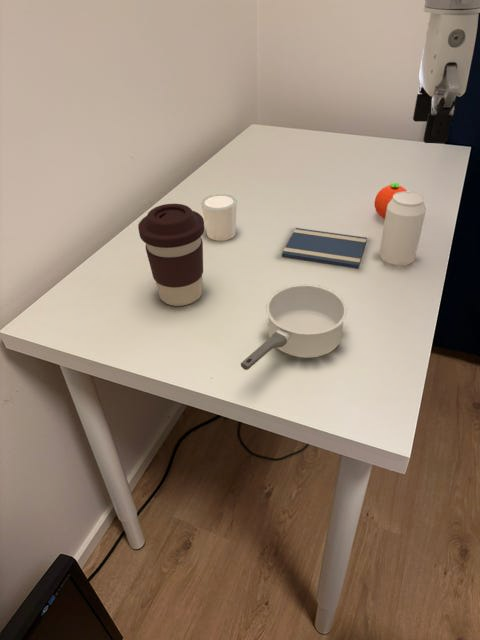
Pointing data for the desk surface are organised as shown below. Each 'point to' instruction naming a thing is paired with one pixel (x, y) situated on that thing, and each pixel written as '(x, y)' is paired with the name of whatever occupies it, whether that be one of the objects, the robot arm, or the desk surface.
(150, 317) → the desk surface
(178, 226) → the coffee cup
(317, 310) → the saucepan
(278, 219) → the desk surface
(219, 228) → the white candle
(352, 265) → the towel
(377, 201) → the clementine
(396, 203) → the beverage can
